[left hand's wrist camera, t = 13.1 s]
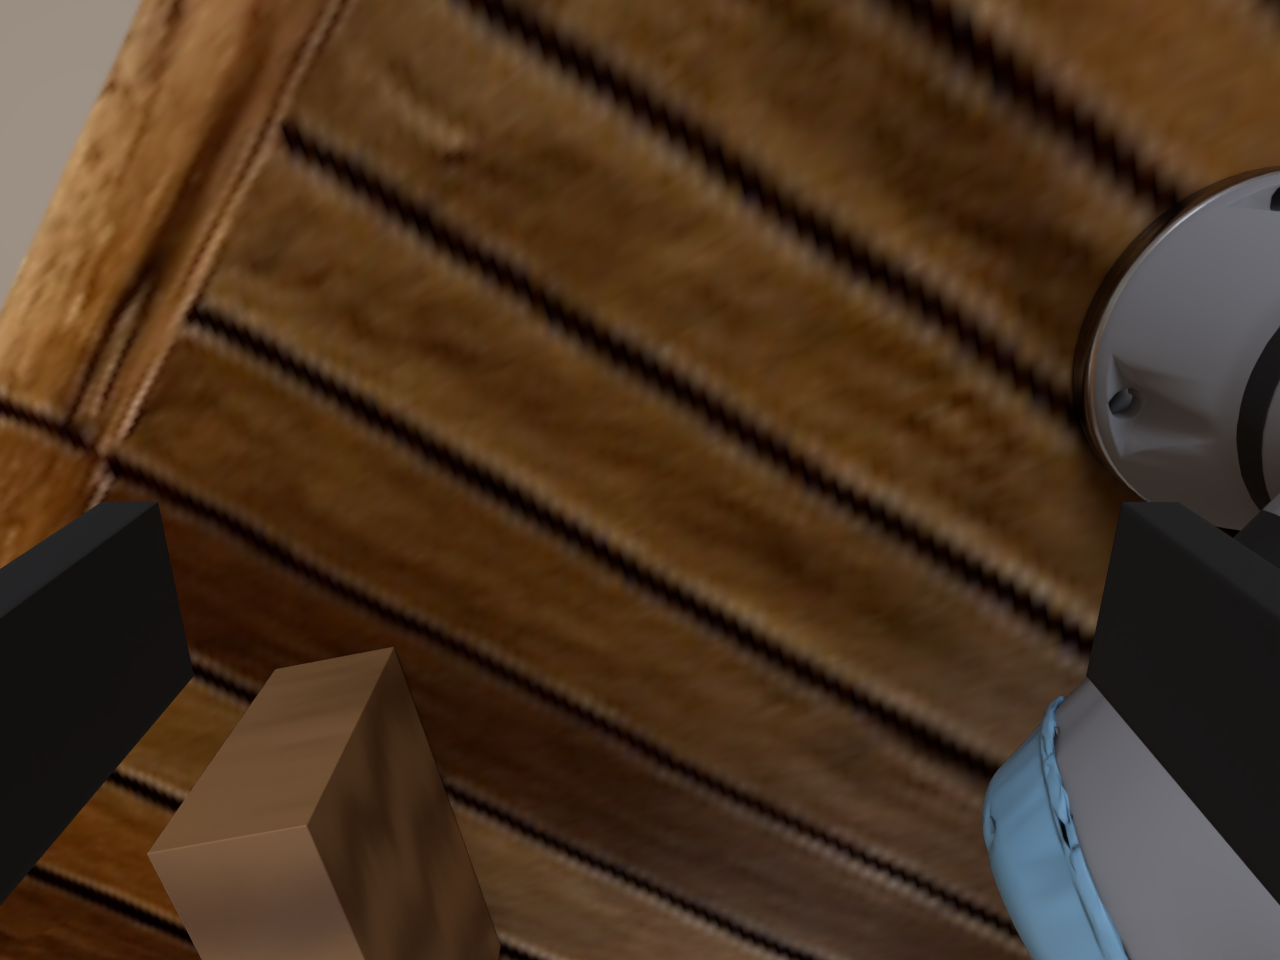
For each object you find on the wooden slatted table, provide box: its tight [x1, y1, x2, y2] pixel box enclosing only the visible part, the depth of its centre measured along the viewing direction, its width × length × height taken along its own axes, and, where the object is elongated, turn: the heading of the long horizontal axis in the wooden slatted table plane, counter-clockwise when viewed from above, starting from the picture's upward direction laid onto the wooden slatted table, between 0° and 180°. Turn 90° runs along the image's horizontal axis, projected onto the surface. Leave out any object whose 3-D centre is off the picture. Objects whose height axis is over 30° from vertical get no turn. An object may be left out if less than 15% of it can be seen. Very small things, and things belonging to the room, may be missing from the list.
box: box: [148, 647, 500, 960], centre depth 42 cm, size 20×6×12 cm, turn 12°
